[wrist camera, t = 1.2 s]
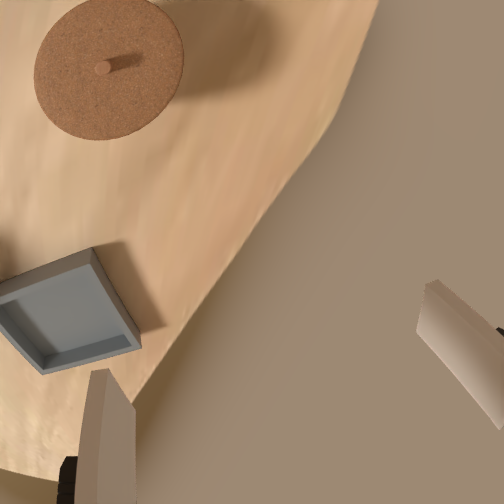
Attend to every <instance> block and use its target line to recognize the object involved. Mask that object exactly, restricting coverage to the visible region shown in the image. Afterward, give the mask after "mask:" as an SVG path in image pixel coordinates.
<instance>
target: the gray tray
mask: <svg viewBox="0 0 504 504" xmlns="http://www.w3.org/2000/svg"><path fill="white" fill-rule="evenodd" d="M0 331H1V333H2V334H3V335H4V336H5V337H6V338H7V339H8V341H9V342H10V343H11V344H12V345H13V346H14V347H15V348H16V349H17V350H18V351H19V352H20V353H21V354H22V356H23V357H24V358H25V359H26V360H27V361H28V362H29V363H30V364H31V365H32V366H33V367H34V368H35V369H36V370H37V371H38V372H39V373H40V374H42V375H45V374H49V373H53V372H57V371H61V370H65V369H69V368H73V367H76V366H80V365H84V364H88V363H92V362H95V361H99V360H102V359H106V358H110V357H113V356H117V355H120V354H124V353H127V352H131V351H134V350H137V349H141V348H142V345H141V337H140V331H139V329H138V328H137V326H136V324H135V323H134V321H133V320H132V318H131V316H130V315H129V313H128V311H127V310H126V308H125V306H124V305H123V303H122V301H121V299H120V298H119V296H118V294H117V293H116V291H115V289H114V287H113V286H112V284H111V282H110V280H109V278H108V277H107V275H106V273H105V271H104V269H103V267H102V265H101V264H100V262H99V260H98V258H97V256H96V254H95V252H94V250H93V248H92V247H91V248H88V249H86V250H83V251H80V252H77V253H75V254H72V255H69V256H67V257H64V258H61V259H59V260H56V261H54V262H51V263H48V264H46V265H43V266H41V267H38V268H36V269H33V270H31V271H28V272H26V273H23V274H21V275H18V276H16V277H13V278H11V279H9V280H6V281H4V282H1V283H0Z"/></svg>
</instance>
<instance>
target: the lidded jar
mask: <svg viewBox="0 0 504 504" xmlns="http://www.w3.org/2000/svg"><path fill="white" fill-rule="evenodd" d="M183 65H184V51H183V45H182V40H181V37H180V35H179V32H178V30H177V28H176V26H175V25H174V23H173V21H172V20H171V19H170V18H169V16H168V15H167V14H166V13H165V12H164V11H163V10H161V9H160V8H159V7H158V6H156V5H154V4H153V3H151V2H149V1H147V0H89V1H86V2H84V3H82V4H80V5H78V6H76V7H75V8H73V9H72V10H70V11H69V12H67V13H66V14H65V15H64V16H63V17H62V18H60V19H59V20H58V21H57V22H56V23H55V25H54V26H53V27H52V28H51V30H50V31H49V32H48V34H47V35H46V37H45V39H44V40H43V42H42V44H41V47H40V49H39V51H38V54H37V58H36V62H35V68H34V86H35V91H36V95H37V99H38V101H39V103H40V106H41V108H42V110H43V111H44V113H45V114H46V115H47V117H48V118H49V119H50V120H51V121H52V122H53V123H54V124H55V125H56V126H57V127H59V128H60V129H62V130H63V131H65V132H67V133H69V134H71V135H73V136H76V137H79V138H83V139H89V140H110V139H116V138H120V137H123V136H126V135H129V134H131V133H133V132H135V131H137V130H140V129H141V128H143V127H144V126H146V125H147V124H149V123H150V122H151V121H152V120H154V119H155V118H156V117H157V116H158V115H159V114H160V113H161V112H162V111H163V110H164V109H165V108H166V106H167V105H168V103H169V102H170V100H171V99H172V98H173V96H174V94H175V92H176V90H177V88H178V85H179V82H180V79H181V76H182V71H183Z"/></svg>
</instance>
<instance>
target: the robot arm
mask: <svg viewBox="0 0 504 504" xmlns="http://www.w3.org/2000/svg"><path fill="white" fill-rule="evenodd" d="M416 332H417V334H418V335H419V336H420V337H421V338H422V339H423V340H424V341H425V342H426V343H427V345H428V346H429V347H430V348H431V349H432V350H433V351H434V352H435V354H436V355H437V356H438V357H439V358H440V359H441V360H442V361H443V363H444V364H445V365H446V366H447V367H448V368H449V370H450V371H451V372H452V373H453V374H454V375H455V377H456V378H457V379H458V380H459V381H460V382H461V384H462V385H463V386H464V387H465V388H466V390H467V391H468V392H469V393H470V394H471V396H472V397H473V398H474V399H475V400H476V402H477V403H478V404H479V405H480V407H481V408H482V409H483V410H484V411H485V413H486V414H487V415H488V416H489V418H490V419H491V420H492V421H493V423H494V424H495V425H496V427H497V428H498V429H499V430H500V429H501V428H503V427H504V330H503V329H501V328H499V327H498V328H497V329H494V327H492V326H491V325H490V324H489V323H488V322H487V321H486V320H485V319H484V318H483V317H481V316H480V315H479V314H478V313H477V312H476V311H475V310H473V309H472V308H471V307H470V306H469V305H468V304H467V303H465V302H464V301H463V300H462V299H461V298H460V297H458V296H457V295H456V294H455V293H454V292H453V291H451V290H450V289H449V288H448V287H446V286H445V285H444V284H443V283H442V282H441V281H439V280H435V281H432V282H430V283H427V284H426V285H425V290H424V295H423V301H422V306H421V311H420V316H419V321H418V325H417V330H416ZM135 420H136V410H135V409H134V407H133V406H132V404H131V403H130V401H129V400H128V398H127V397H126V395H125V394H124V392H123V391H122V389H121V388H120V386H119V384H118V383H117V381H116V380H115V378H114V376H113V375H112V373H111V372H110V370H109V368H108V369H101V370H95V371H91V375H90V380H89V386H88V391H87V397H86V403H85V409H84V415H83V421H82V428H81V436H80V444H79V452H78V456H66V458H65V460H64V462H63V464H62V466H61V468H60V473H59V484H58V495H57V504H137V497H136V471H135V470H136V468H135V423H136V421H135Z"/></svg>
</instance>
